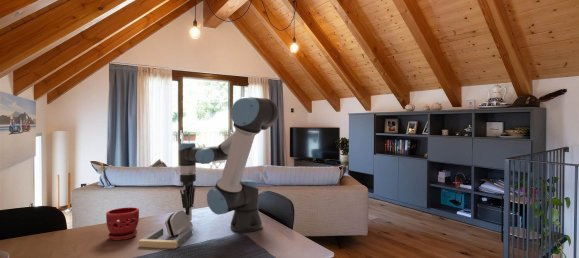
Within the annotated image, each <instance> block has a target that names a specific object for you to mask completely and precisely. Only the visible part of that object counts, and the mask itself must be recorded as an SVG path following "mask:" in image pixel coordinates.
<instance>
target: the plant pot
mask: <svg viewBox="0 0 579 258" xmlns="http://www.w3.org/2000/svg"><path fill="white" fill-rule="evenodd" d="M105 214H106V215H105V218H106V219H105V220H106V227H107V230H108V232H109V233H108V238H109V239H110V240H113V241H120V240H121V241H122V240H123V241H125V240H128V239H130V238H133V237H135V236H136V235H137V234H138V229H137V228H138V225H139V221H140V210H139V208H138V207H133V206H132V207H131V206H130V207H121V208H120V207H119V208H114V209H111V210H108V211H106V213H105Z"/></svg>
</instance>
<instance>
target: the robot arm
mask: <svg viewBox="0 0 579 258" xmlns="http://www.w3.org/2000/svg"><path fill="white" fill-rule="evenodd" d="M279 113H280V111H279V108H278V105H277V103H276V102H274V101H273V100H272V99H270V98H265V97H262V98H261V97H253V96H244V97H240V98H238V99H236V101H235V102H234V103H233V104H232V107H231V110H230V116H231V120H232V121H233V123H232V124H233V128H234V129H235V130H234V132H233V133H232V134H230V135H229V136H228V137H227V138H226V139H224V140H223V141H222V142H221V143H220V144H219V145H217V146H203V147H199V146H196V143H195V142H181V143H180V144H179V150H178V151H179V173H180V175H179V183H182V189H180V190H179V193H180V197H181V204H182V209H184V211H185V213H186V215H187V218H188V220H189V221H191V222H192V221H193V220H192V219H193V214H192V212H193V211H192V210H193V207H194V206H195V205H194V204H195V195H196V194H195V192H196V186H197V185H195V184H194V182H196V180H197V174H196V173H197V168H196V167H197V165H196V164H201V165H204V164H205V165H206V164H207V165H208V164H211V163H214V162H221V161H223V162H225V164H224V168H223V171H222V174H221V177H219V178H218V179H217V180H216V182H215V186H214V187H213V188H211V189H209V190H208V191H207V193H206V202H207V205H208V208H209V209H210V210H211V212H212V213H214V214H215V215H224V214H227V213H230V212H232V211H233V214H232V218H231V221H230V229H231V230H232V231H233V232H237V233H252V232H256V231H259V230H261V229H262V228H263V220H262V218H261V215H260V212H259V184H258V181H256V180H253V179H242V178H243V174H244V171H245V169H246V165H247V163H248V159H249V156H250V153H251V150H252V146H253V143H254V139H255V137H256V136H257V135H258V134H259V133H261V131H266V130H267V129H269V128H270V127H272V126H273V124H275V123H276V122H277V120H278V118H279Z"/></svg>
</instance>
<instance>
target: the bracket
mask: <svg viewBox="0 0 579 258" xmlns="http://www.w3.org/2000/svg"><path fill="white" fill-rule="evenodd" d="M163 234H164V228H163V227H159V228H156V229H155V230H154V231H152V232H151V233H149V234H147V235H145V236H144V237H143V238H141V239H139V240H138V248H156V249H157V248H159V249H160V248H161V249H175V248H176V249H177V248H178V247H180V245H182V244H183V243H184V242H185V241H186V240H188V239H189V238H190V237H191V236H192V235H193V228H189V229H187V230H186V231H185V232H184V233H182V234H181V235H180V236H178V235H177V237H176V238H174V239H173V240H172V239H171V240H170V239H169V240H168V239H158V238H159V237H160V236H162V235H163Z"/></svg>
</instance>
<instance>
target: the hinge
mask: <svg viewBox="0 0 579 258" xmlns="http://www.w3.org/2000/svg"><path fill="white" fill-rule="evenodd" d="M164 224H165V228H166V231H167V235H168V237H169V238H171V237H173V236H177V237H178V236H180V235H181V234H182V233H184V232H185V231H186V230H187V229H191V228H192V227H193V226H194V225H193V224H194V223H193V222H192V220H191V221H189V220H188V218H187V215H186V213H185V210H178V211H174V212H172V213H171V214H169V215H168V216H167V218H166V220H165V223H164Z"/></svg>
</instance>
